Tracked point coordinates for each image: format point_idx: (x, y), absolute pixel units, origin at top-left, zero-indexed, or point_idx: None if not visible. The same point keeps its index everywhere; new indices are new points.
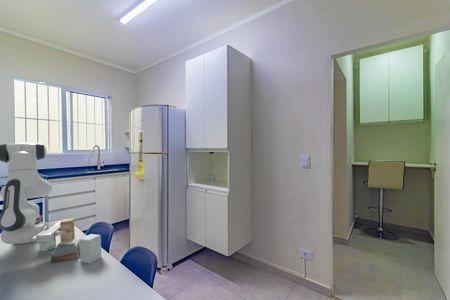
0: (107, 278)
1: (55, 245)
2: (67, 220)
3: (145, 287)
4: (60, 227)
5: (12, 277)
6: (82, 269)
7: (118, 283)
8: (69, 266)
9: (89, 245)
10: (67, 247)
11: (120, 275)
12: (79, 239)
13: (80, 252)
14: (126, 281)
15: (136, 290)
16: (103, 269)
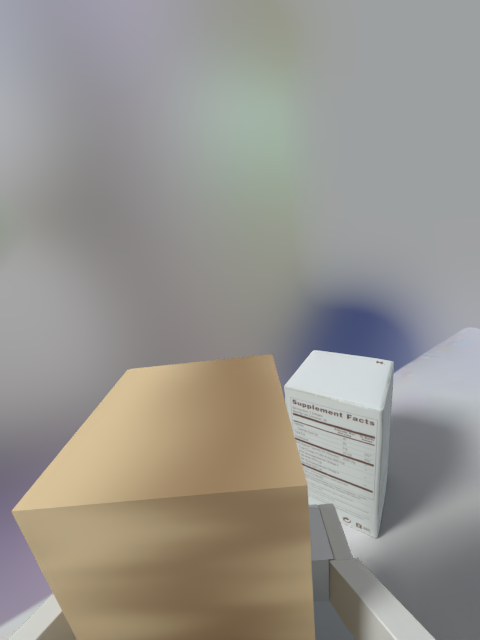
0: (464, 389)
1: None
2: (207, 397)
3: (457, 334)
4: (311, 591)
5: None
6: (451, 487)
7: (472, 365)
8: (454, 598)
9: (392, 389)
10: (339, 638)
11: (433, 370)
12: (383, 411)
13: (380, 486)
14: (454, 357)
15: (477, 340)
16: (417, 412)
